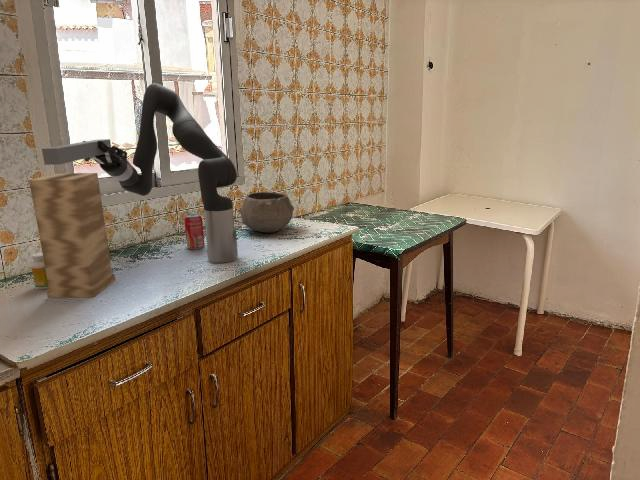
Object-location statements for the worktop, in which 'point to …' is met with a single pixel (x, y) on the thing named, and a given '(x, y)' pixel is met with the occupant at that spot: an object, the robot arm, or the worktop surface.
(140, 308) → the worktop surface
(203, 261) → the worktop surface
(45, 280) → the supplement bottle
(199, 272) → the worktop surface
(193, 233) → the soda can
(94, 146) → the block
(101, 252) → the stand
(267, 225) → the clay pot
